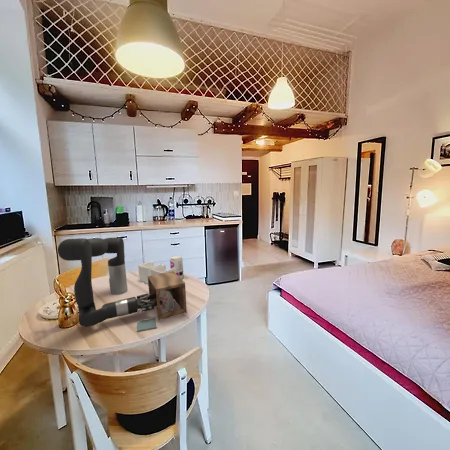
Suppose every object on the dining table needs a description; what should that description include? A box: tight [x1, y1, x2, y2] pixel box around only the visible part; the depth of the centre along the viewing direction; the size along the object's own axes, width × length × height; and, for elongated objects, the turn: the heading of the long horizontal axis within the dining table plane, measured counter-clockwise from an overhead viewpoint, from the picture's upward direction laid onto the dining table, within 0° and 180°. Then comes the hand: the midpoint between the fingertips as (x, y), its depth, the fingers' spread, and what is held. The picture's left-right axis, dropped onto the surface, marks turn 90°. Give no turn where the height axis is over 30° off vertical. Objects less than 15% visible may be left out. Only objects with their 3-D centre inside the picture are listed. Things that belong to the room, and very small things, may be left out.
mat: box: [136, 317, 158, 333], centre depth 117 cm, size 8×8×1 cm
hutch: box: [147, 271, 188, 321], centre depth 131 cm, size 14×19×16 cm
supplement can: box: [169, 255, 184, 280], centre depth 172 cm, size 8×8×15 cm
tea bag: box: [159, 290, 175, 312], centre depth 131 cm, size 4×7×10 cm, turn 58°
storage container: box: [137, 260, 176, 285], centre depth 167 cm, size 25×11×11 cm, turn 51°
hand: (160, 298), depth 130 cm, fingers open, 8 cm apart
